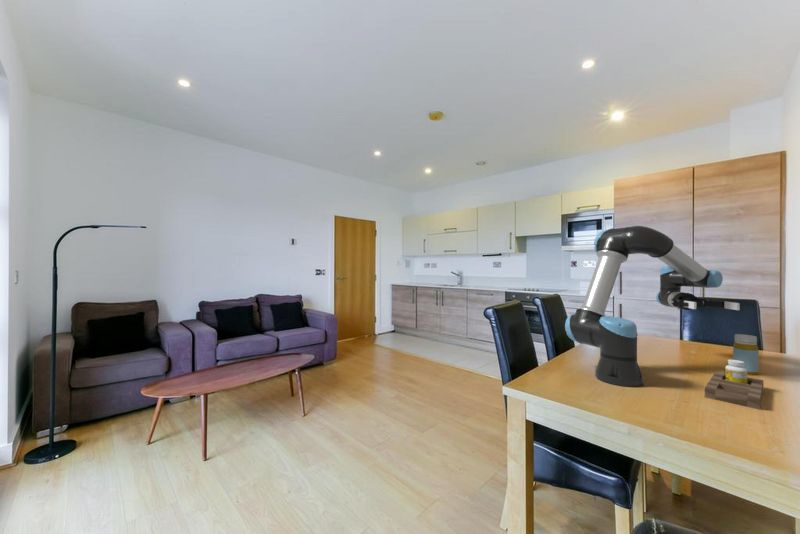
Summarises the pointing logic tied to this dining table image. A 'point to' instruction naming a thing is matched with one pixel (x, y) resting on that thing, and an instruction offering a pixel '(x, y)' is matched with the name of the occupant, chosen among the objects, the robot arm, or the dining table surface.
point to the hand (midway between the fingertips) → (716, 306)
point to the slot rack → (735, 391)
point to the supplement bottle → (736, 371)
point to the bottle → (747, 352)
